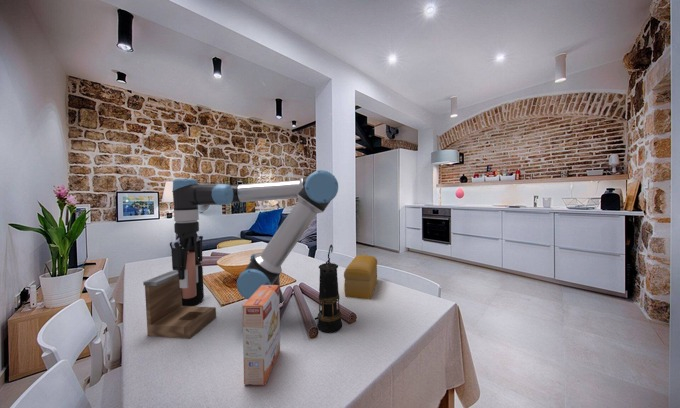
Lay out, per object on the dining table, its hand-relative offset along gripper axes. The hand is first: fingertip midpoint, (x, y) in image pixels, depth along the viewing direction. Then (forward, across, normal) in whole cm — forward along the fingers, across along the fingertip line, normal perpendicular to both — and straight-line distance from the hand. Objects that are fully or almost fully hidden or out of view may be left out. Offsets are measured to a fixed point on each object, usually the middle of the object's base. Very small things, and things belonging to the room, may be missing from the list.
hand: (189, 284), depth 88 cm
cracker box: (+16, +17, +36) cm, 43 cm away
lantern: (+16, -5, +51) cm, 54 cm away
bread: (+16, -41, +62) cm, 76 cm away
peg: (+4, 0, 0) cm, 4 cm away
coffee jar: (+16, -18, -15) cm, 28 cm away
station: (+16, 0, -3) cm, 16 cm away
